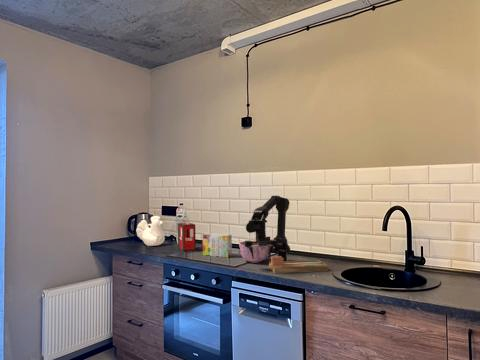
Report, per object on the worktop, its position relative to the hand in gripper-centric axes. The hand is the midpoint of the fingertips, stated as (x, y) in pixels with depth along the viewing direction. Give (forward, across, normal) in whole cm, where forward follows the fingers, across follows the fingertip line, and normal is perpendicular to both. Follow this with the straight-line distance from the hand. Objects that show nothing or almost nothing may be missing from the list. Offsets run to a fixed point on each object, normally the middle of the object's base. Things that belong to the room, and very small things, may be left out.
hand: (261, 258), depth 190 cm
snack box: (+6, -24, +42) cm, 48 cm away
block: (+4, +9, 0) cm, 10 cm away
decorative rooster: (+6, -77, +96) cm, 123 cm away
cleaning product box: (+6, -46, +67) cm, 81 cm away
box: (+6, +20, -4) cm, 22 cm away
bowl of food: (+6, -1, +20) cm, 21 cm away
